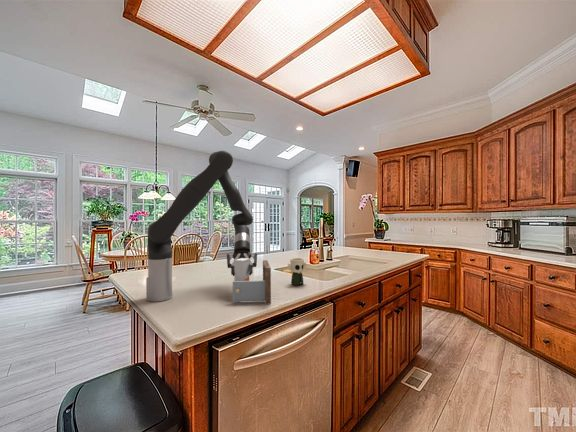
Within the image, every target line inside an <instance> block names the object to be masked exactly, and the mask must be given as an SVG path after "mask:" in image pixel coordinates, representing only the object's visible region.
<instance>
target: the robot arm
mask: <svg viewBox="0 0 576 432" xmlns="http://www.w3.org/2000/svg"><path fill="white" fill-rule="evenodd" d="M233 162H234V158H233V155H232V154H231V153H230V152H229V151H227V150H218V151H214V152H212V153H211V154H210V155H209V157H208V163H209V165H207V167H206V168H205V169H203V171H202V172H200V173H198V174H197V175H196V176H195V177H193V178H192V179H191V180H190V181H188V182H187V184H186V185H185V186H184V187H183V188H182V189H181V190H180V191H179V193H178V194H177V196H176V197H175V198H174V200H173V202H172V204H171V205H170V207H169V208H168V209H167V210H166V212H164V213H163V214H162V215H161V217H159V218H158V219H157V220H156V221H154V222H151V224H150V225H149V226H148V228H147V271H148V272H147V277H146V279H145V280H146V284H145V288H146V289H145V290H146V291H145V292H146V296H145V297H146V302H154V303H155V302H162V301H163V302H164V301H167V300H168V301H169V300H170V299H172V298H173V251H172V237H173V235H174V233H175V232H176V230H177V229H178V227H179V226H180V225H181V223H182V222H183V220H184V219H185V218H186V217H187V216H188V215H189V214H191V212H192V211H193V210H195V209H196V207H197V206H198V205H199V204H200V203H201V202H202V200H203V199H204V198H205V197H206V195H207V194H208V193H209V191H210V190H211V189H212V188H213V186H214V185H215V184H217V183H216V182H219V184H220V186H221V188H222V190H223V192H224V195H225V197H226V200H227V202H228V205H229V208H230V210H231V211H233V212H240V213H236V214H235V215H233V216H232V218H231V222H232V225H233V227H234V239H233V240H234V241H233V242H234V243H233V253H232V254H229V253H227V254H226V264H227V265H226V266H227V268H228V269H230V273H231V274H230V275H231V276H232V277H234V260H237V259H240V258H248V259H249V276H252V275H253V273H254V272H253V270H254V269H253V268H256V267H257V262H258V253H256V252H255V253H254V254H252V253H251V238H250V228H249V226H250V225H252V223H253V221H254V219H253V215H252V214H251V212H250V210H248V208H247V207H246V205H245V204H244V200H243V198H242V195H241V193H240V190H239V189H238V187H237V186H236V184H235V183H234V181H233V180H232V178H231V176H230V173H229V170H230V169H231V167H232V166H233ZM232 259H233V262H232V263H231V261H232ZM251 259H253V262H252V261H251Z"/></svg>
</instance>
